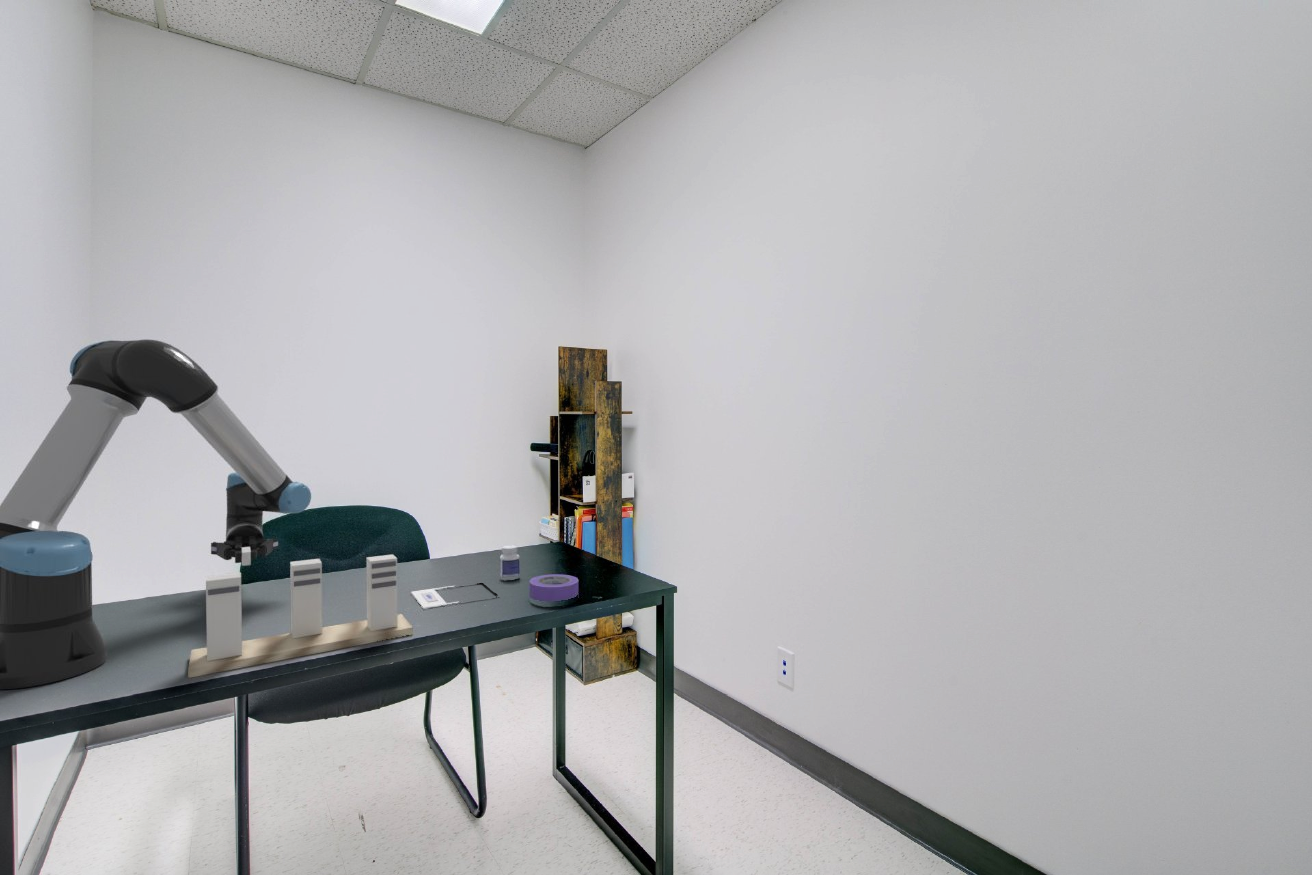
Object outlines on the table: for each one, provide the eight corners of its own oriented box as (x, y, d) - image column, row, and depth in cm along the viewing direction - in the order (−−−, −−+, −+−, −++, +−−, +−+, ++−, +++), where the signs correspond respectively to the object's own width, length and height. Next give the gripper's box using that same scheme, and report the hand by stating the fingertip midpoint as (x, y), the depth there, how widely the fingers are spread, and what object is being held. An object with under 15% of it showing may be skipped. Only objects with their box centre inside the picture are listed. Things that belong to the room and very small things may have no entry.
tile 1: (207, 661, 104) (205, 581, 103) (207, 653, 107) (206, 576, 107) (242, 655, 107) (241, 577, 106) (241, 647, 110) (240, 572, 110)
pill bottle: (523, 579, 164) (523, 546, 164) (506, 582, 160) (506, 549, 160) (512, 575, 168) (512, 543, 167) (495, 579, 164) (495, 546, 163)
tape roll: (569, 591, 154) (569, 571, 154) (585, 603, 143) (585, 583, 143) (523, 597, 148) (523, 576, 148) (537, 610, 138) (537, 589, 138)
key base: (188, 677, 101) (188, 669, 101) (191, 657, 109) (191, 649, 109) (412, 634, 122) (412, 627, 122) (401, 620, 130) (401, 613, 130)
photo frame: (410, 590, 150) (482, 580, 159) (410, 595, 150) (482, 584, 159) (423, 606, 137) (500, 594, 147) (423, 611, 137) (500, 599, 147)
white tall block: (292, 638, 114) (291, 566, 114) (291, 632, 118) (290, 561, 117) (322, 633, 117) (321, 562, 117) (319, 627, 121) (319, 558, 120)
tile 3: (370, 631, 119) (370, 561, 118) (367, 625, 122) (366, 557, 122) (397, 626, 122) (397, 558, 121) (393, 620, 125) (392, 554, 125)
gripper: (277, 553, 147) (283, 573, 127) (210, 559, 139) (206, 581, 120) (277, 522, 146) (283, 537, 127) (211, 526, 139) (206, 543, 120)
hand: (246, 558), depth 123 cm, fingers closed
